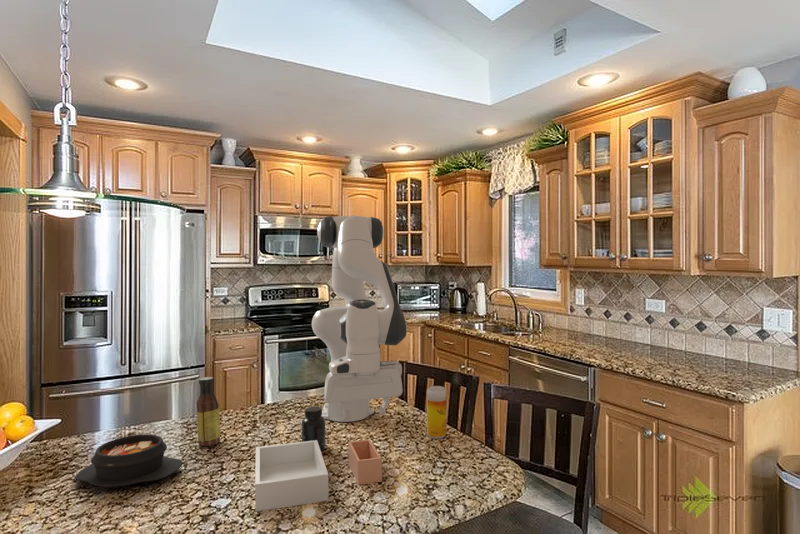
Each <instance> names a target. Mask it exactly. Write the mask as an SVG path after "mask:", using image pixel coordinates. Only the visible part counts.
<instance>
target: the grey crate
mask: <svg viewBox="0 0 800 534" xmlns="http://www.w3.org/2000/svg"><path fill="white" fill-rule="evenodd" d="M254 474H255V475H254V477H255V479H254V488H255V489H254V501H255V502H254V504H255V506H254V507H255V509H254V510H255V511H254V512H263V511H268V510H269V511H270V510H275V509H281V508H282V509H283V508H289V507H295V506H300V505H308V504H314V503H320V502H321V503H322V502H328V501H329V499H330V497H329V472H328V470H327V467H326V463H325V460H324V458H323V454H322V452H321V451H320V448H319V444H318V441H317V440H314V441H305V442H302V441H298V442H292V443H291V442H290V443H280V444H279V443H278V444H272V445H263V446H256V447H255V473H254Z"/></svg>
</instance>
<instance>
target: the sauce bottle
mask: <svg viewBox="0 0 800 534" xmlns="http://www.w3.org/2000/svg"><path fill="white" fill-rule="evenodd" d="M214 382H215V381H214V377H212V376H206V377H201V378H199V379H198V384H199V396H198V399H197V401H196V422H197V424H196V425H197V439H198V444H199V446H202V447H210V446H215V445H217V444H218V443H220V441H221V438H220V437H221V426H220V425H221V424H220V410H219V409H220V408H219V407H220V406H219V403H218V400H217V398H216V395H215V392H214Z"/></svg>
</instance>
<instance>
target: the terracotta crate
mask: <svg viewBox="0 0 800 534" xmlns="http://www.w3.org/2000/svg"><path fill="white" fill-rule="evenodd" d="M347 444H348V445H347V446H348V449H347V450H348V465H349V468H350V470H351V472H352V475H353V477H354V479H355V481H356V483H357V485H358V486H359V485H360V486H361V485H368V484H372V483H380V482H382V481H383V476H382V475H383V470H382V468H383V466H382V465H383V464H382V463H383V462H382V461H383V459H382V456H381V455H380V453H379V451H378V450H377V449H376V447H375V445H374V443H373V441H372V440H371V439H362V440H355V441H354V440H353V441H348V443H347Z"/></svg>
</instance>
